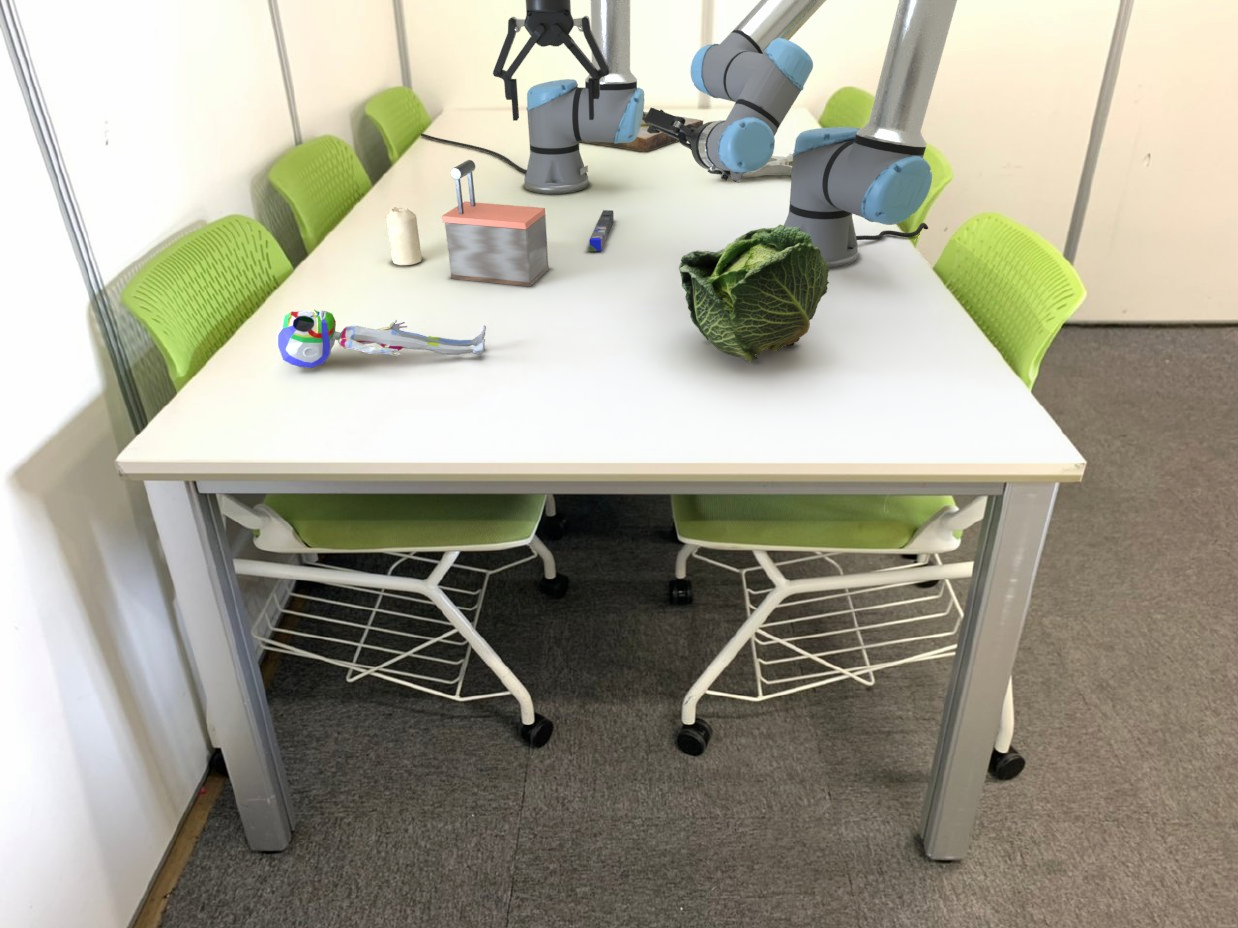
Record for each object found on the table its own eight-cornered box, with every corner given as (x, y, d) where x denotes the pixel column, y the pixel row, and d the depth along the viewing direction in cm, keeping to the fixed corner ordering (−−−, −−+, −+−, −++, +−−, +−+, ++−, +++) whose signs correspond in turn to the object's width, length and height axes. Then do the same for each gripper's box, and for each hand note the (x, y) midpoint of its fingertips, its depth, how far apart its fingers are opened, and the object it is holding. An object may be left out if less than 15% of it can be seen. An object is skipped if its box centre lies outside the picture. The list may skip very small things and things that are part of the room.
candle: (427, 257, 173) (420, 205, 168) (412, 267, 168) (405, 214, 163) (402, 254, 174) (394, 203, 169) (387, 264, 170) (378, 211, 165)
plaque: (647, 125, 237) (559, 112, 252) (647, 153, 241) (560, 139, 256) (706, 107, 258) (622, 97, 273) (705, 133, 262) (622, 121, 277)
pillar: (613, 210, 190) (600, 241, 173) (613, 220, 191) (600, 251, 174) (603, 210, 190) (589, 240, 173) (603, 220, 191) (589, 251, 174)
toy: (485, 337, 129) (268, 320, 125) (482, 389, 134) (272, 374, 129) (486, 310, 138) (283, 293, 133) (484, 360, 142) (287, 345, 138)
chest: (451, 278, 164) (444, 223, 158) (473, 262, 171) (467, 208, 165) (530, 286, 159) (525, 230, 154) (548, 269, 167) (545, 214, 161)
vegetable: (713, 374, 144) (652, 267, 136) (810, 307, 145) (755, 197, 138) (765, 401, 126) (698, 280, 118) (875, 325, 127) (816, 200, 119)
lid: (442, 222, 158) (435, 169, 153) (465, 207, 166) (459, 156, 161) (525, 229, 154) (521, 175, 149) (545, 214, 161) (542, 162, 156)
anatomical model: (702, 130, 224) (803, 129, 220) (702, 168, 229) (801, 167, 225) (697, 145, 212) (805, 144, 208) (697, 184, 216) (802, 184, 213)
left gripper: (469, -13, 147) (481, 123, 158) (621, -15, 146) (622, 122, 157) (476, -16, 153) (487, 115, 164) (622, -18, 152) (623, 114, 163)
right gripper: (643, 124, 140) (615, 127, 160) (767, 207, 149) (726, 200, 169) (667, 80, 139) (636, 88, 159) (791, 166, 148) (747, 164, 167)
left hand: (553, 119), depth 161 cm, fingers open, 13 cm apart
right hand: (682, 146), depth 164 cm, fingers open, 13 cm apart
